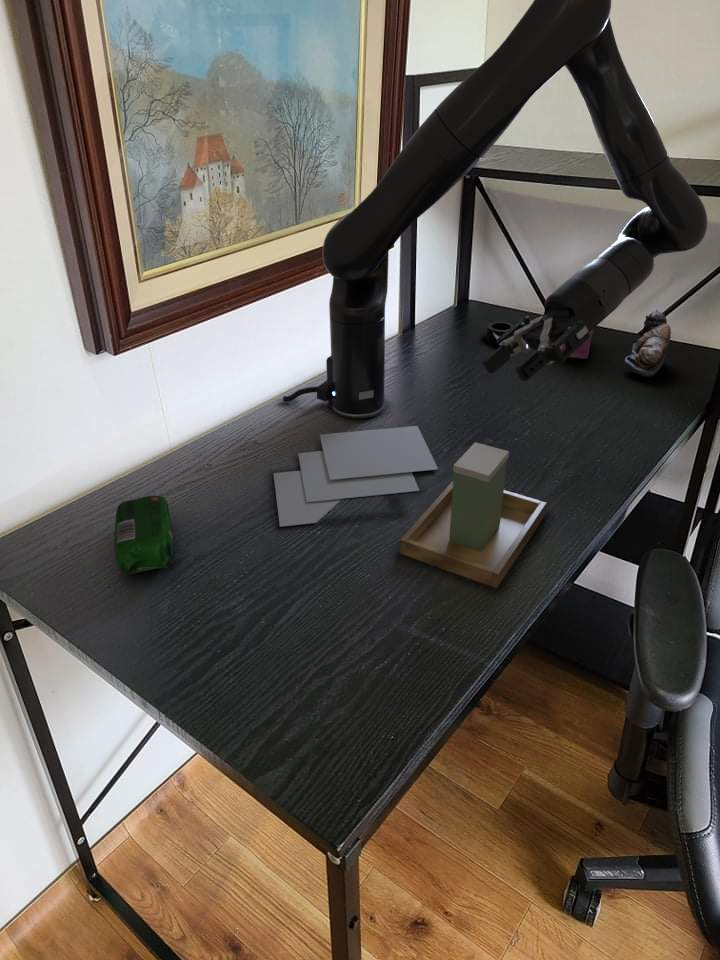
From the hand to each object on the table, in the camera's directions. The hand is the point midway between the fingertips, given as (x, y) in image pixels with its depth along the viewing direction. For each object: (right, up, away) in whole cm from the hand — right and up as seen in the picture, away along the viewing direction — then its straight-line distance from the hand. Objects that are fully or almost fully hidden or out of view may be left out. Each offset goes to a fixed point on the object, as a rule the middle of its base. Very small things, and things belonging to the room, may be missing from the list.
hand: (502, 372), depth 100 cm
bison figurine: (+36, +7, +43) cm, 57 cm away
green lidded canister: (-4, -22, -1) cm, 22 cm away
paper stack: (-20, -14, +12) cm, 27 cm away
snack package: (-48, -24, -3) cm, 54 cm away
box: (+25, +12, +52) cm, 59 cm away
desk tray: (-4, -22, -1) cm, 23 cm away
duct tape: (+10, +15, +56) cm, 59 cm away
